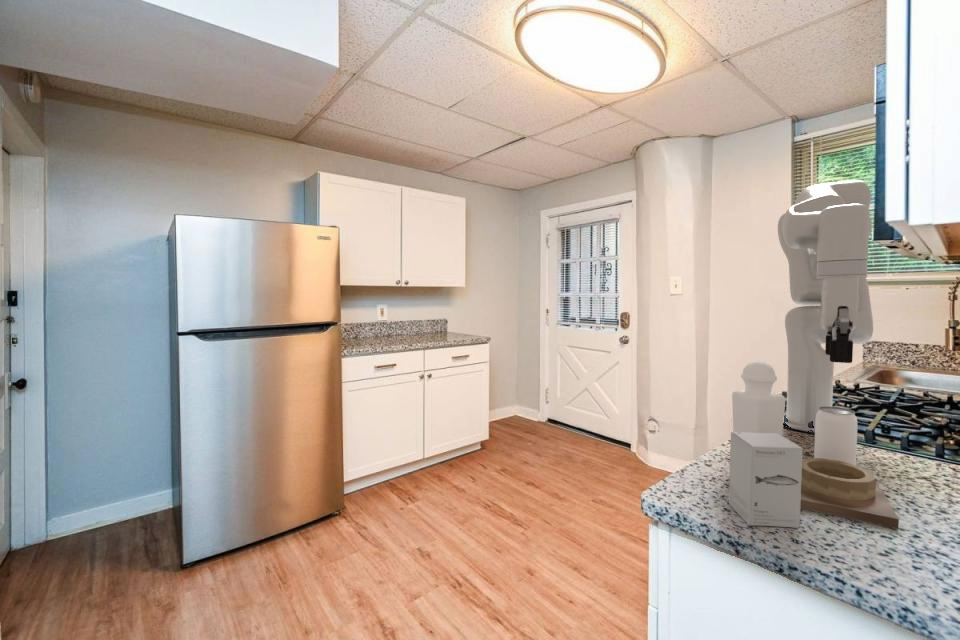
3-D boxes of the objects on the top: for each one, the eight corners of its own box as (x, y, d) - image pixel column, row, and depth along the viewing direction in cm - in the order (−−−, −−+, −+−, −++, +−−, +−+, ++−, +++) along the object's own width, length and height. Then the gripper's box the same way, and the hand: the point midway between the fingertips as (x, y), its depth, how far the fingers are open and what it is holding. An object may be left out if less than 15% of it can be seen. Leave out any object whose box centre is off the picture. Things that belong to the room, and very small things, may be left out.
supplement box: (749, 527, 66) (750, 445, 65) (727, 503, 73) (729, 430, 72) (801, 529, 65) (804, 447, 64) (775, 505, 72) (777, 431, 71)
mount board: (786, 468, 87) (787, 446, 86) (872, 483, 80) (873, 459, 79) (791, 506, 72) (792, 480, 71) (898, 528, 65) (899, 499, 64)
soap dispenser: (755, 461, 91) (758, 357, 89) (784, 474, 84) (787, 362, 83) (729, 465, 89) (732, 359, 88) (757, 478, 83) (759, 364, 81)
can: (857, 478, 82) (859, 416, 81) (814, 470, 86) (816, 411, 85) (854, 467, 87) (856, 408, 86) (813, 460, 91) (815, 404, 90)
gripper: (813, 272, 92) (811, 351, 94) (819, 270, 78) (816, 363, 79) (860, 271, 88) (856, 353, 89) (875, 268, 74) (871, 367, 75)
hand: (837, 358), depth 84 cm, fingers open, 9 cm apart
